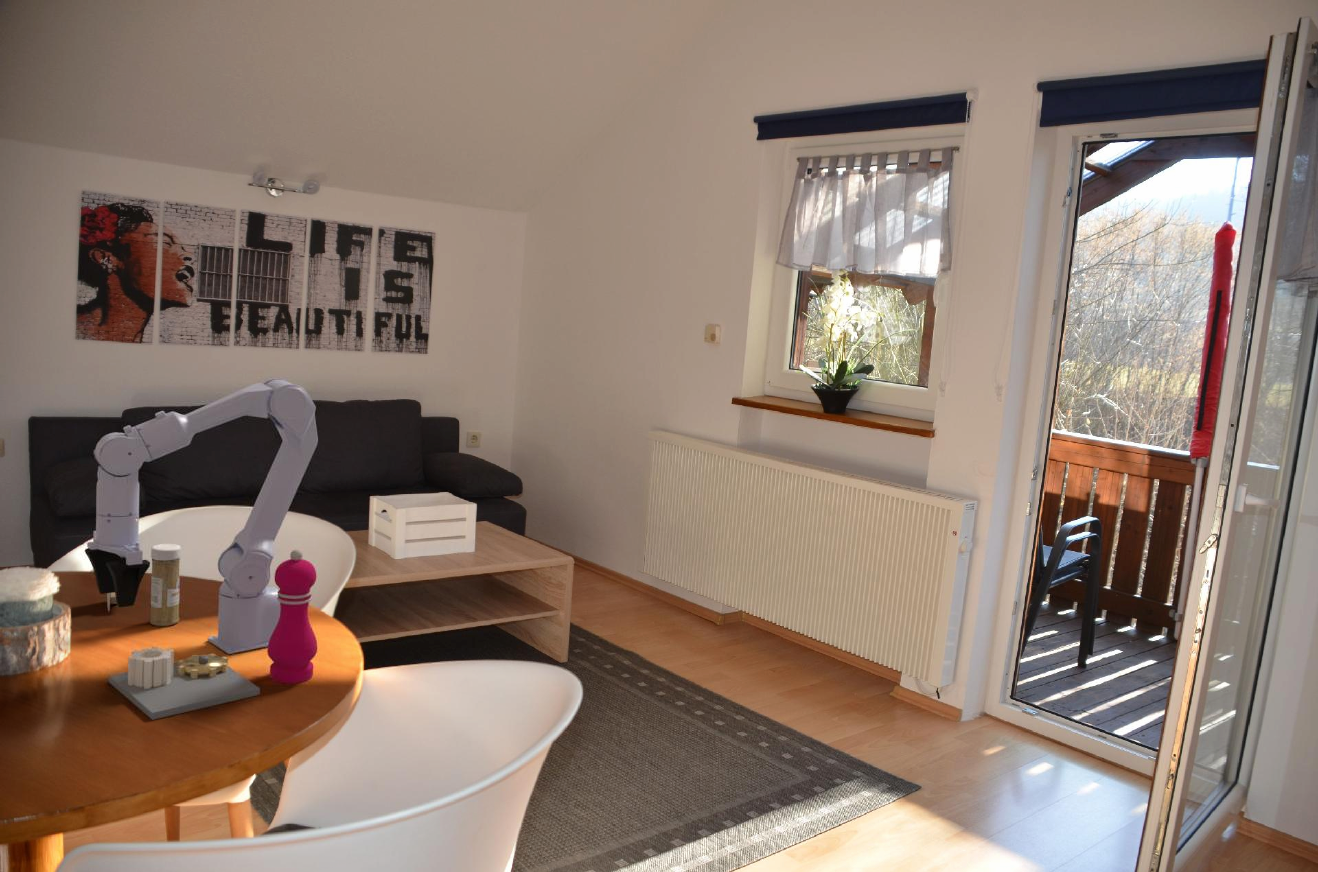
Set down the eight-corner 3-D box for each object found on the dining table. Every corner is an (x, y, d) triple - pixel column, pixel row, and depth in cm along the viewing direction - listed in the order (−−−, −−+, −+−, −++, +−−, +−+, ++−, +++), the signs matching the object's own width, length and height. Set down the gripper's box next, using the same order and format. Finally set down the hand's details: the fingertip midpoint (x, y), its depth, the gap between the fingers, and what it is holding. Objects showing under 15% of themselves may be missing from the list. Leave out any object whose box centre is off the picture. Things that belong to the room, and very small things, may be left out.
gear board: (211, 661, 159) (212, 639, 159) (259, 694, 148) (260, 671, 148) (108, 681, 148) (109, 658, 148) (152, 719, 137) (152, 695, 137)
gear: (164, 670, 152) (165, 644, 151) (179, 682, 148) (180, 655, 147) (121, 678, 147) (122, 652, 147) (136, 691, 143) (136, 664, 143)
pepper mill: (269, 687, 151) (274, 556, 149) (263, 669, 158) (268, 544, 155) (319, 682, 155) (325, 555, 152) (312, 665, 161) (317, 542, 158)
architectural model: (128, 602, 184) (129, 562, 183) (130, 614, 178) (131, 573, 177) (107, 603, 182) (107, 563, 181) (108, 615, 176) (108, 574, 175)
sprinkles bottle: (181, 625, 173) (183, 548, 171) (151, 628, 171) (153, 550, 169) (177, 617, 177) (178, 542, 175) (147, 619, 174) (149, 543, 173)
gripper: (72, 505, 156) (71, 590, 158) (106, 525, 146) (105, 616, 148) (121, 501, 161) (119, 584, 163) (157, 520, 151) (155, 608, 153)
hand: (116, 599), depth 156 cm, fingers open, 7 cm apart
